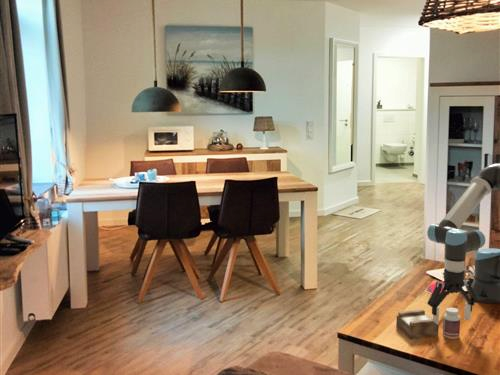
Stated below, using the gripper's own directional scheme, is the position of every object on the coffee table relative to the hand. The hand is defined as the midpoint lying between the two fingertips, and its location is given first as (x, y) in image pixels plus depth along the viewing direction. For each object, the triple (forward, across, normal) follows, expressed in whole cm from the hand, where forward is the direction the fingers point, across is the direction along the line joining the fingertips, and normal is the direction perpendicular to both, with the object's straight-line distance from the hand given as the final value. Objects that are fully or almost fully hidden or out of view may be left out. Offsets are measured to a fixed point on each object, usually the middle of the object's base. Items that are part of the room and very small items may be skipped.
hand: (451, 321), depth 213 cm
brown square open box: (+7, +11, -7) cm, 14 cm away
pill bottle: (+7, 0, 0) cm, 7 cm away
